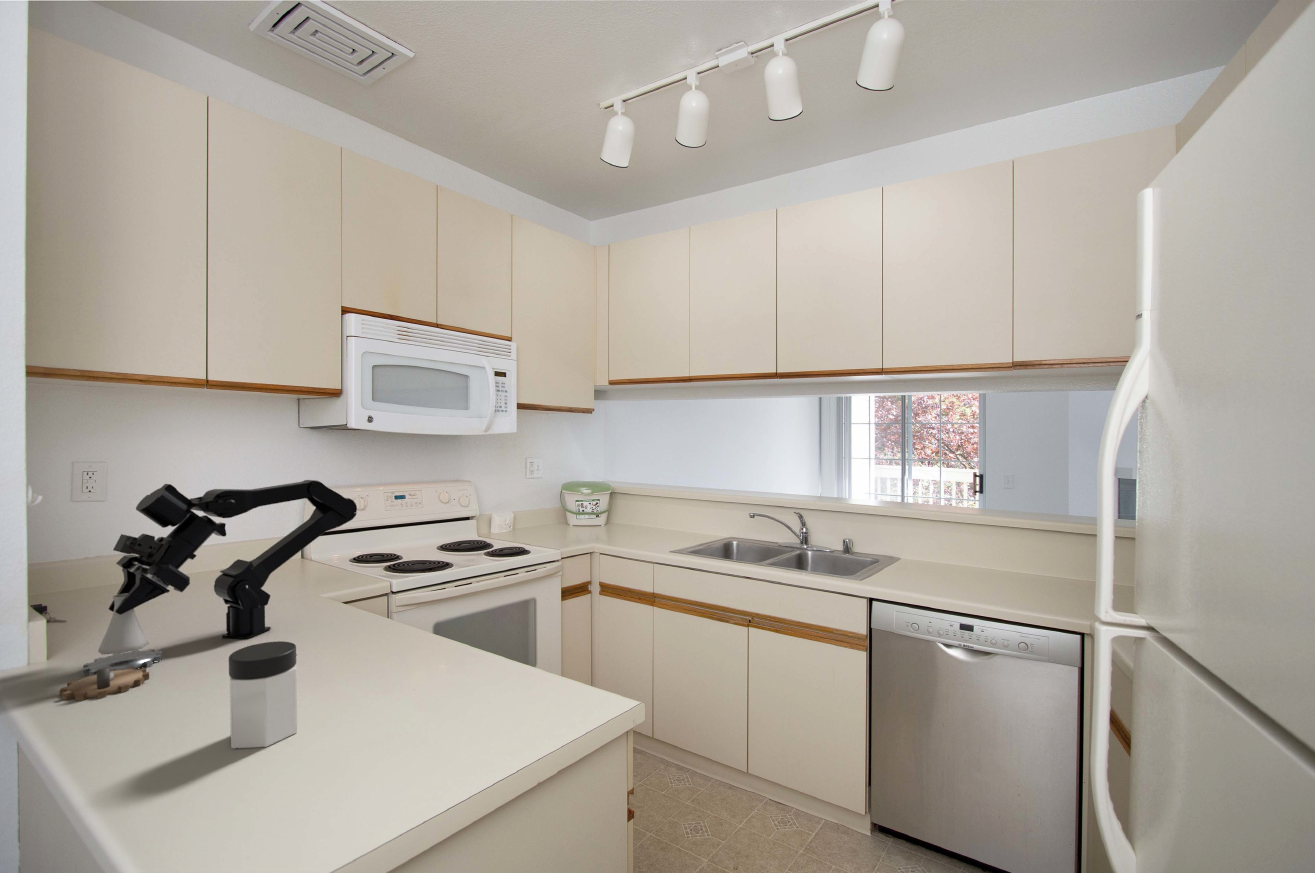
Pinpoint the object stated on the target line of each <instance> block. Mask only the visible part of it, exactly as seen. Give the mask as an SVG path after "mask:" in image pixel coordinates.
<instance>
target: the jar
mask: <svg viewBox="0 0 1315 873" xmlns="http://www.w3.org/2000/svg"><path fill="white" fill-rule="evenodd" d="M297 655H298V654H297V645H296V644H295V643H293V642H291V641H277V640H276V641H268V642H260V643H256V644H252V645H248V646H245V647H242V648H239V649H236V650H235V651H233V652H232V653H231V654H230V655H229V656H228V676H229V715H230V716H229V718H230V720H229V722H230V724H229V726H230V727H229V728H230V748H231V749H233V750H234V749H235V750H236V748H238V749H250V748H251V749H255V748H256V749H257V748H266V747H267V748H268V747H269V746H272V745H273V744H276V743H279V742H280V741H282V740H284V739H286V738H288V737H290V736H292V735H295V734H296V733H297V732H298V729H299V728H298V725H299V724H298V723H299V722H298V721H299V720H298V668H297V665H296V664H297Z"/></svg>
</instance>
